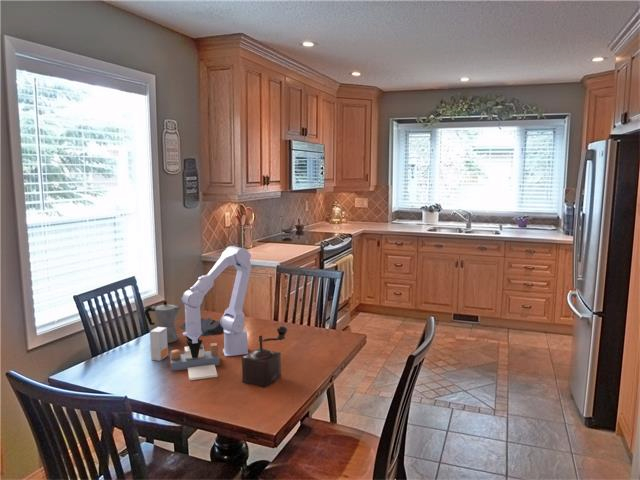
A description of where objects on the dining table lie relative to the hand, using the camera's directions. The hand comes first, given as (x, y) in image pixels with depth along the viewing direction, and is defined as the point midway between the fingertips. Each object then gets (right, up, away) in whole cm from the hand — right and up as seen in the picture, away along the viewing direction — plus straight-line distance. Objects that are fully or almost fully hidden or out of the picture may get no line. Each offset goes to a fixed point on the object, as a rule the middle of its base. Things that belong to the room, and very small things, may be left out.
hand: (194, 355), depth 189 cm
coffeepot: (-20, 0, +27) cm, 34 cm away
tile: (+5, -5, -8) cm, 11 cm away
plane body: (0, -4, +1) cm, 4 cm away
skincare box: (-16, -3, +7) cm, 17 cm away
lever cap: (0, -1, 0) cm, 1 cm away
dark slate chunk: (-7, +2, +43) cm, 44 cm away
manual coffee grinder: (+29, -5, -12) cm, 32 cm away
